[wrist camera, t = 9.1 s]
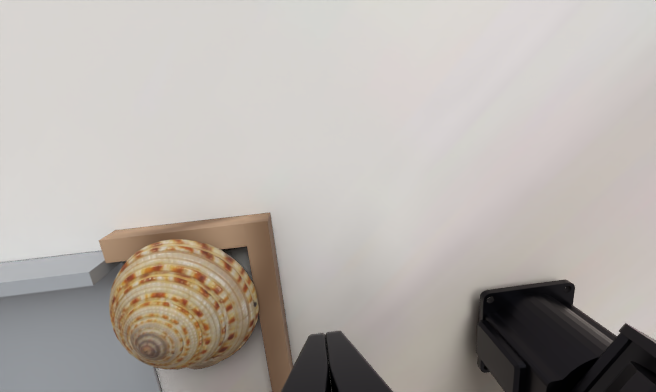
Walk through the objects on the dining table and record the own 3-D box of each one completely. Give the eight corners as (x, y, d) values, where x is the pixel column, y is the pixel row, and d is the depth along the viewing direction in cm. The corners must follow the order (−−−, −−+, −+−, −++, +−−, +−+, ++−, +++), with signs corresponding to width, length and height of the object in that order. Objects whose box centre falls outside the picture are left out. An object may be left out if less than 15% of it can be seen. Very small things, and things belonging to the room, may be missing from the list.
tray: (120, 248, 19) (88, 272, 17) (171, 423, 23) (152, 467, 20) (-124, 277, 19) (-202, 307, 16) (-31, 453, 22) (-81, 504, 19)
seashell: (133, 386, 20) (43, 352, 14) (160, 299, 23) (98, 241, 17) (265, 377, 20) (234, 339, 14) (270, 292, 24) (247, 232, 17)
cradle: (270, 212, 20) (267, 220, 18) (300, 416, 24) (300, 437, 22) (115, 230, 19) (99, 240, 18) (174, 435, 23) (165, 458, 22)
